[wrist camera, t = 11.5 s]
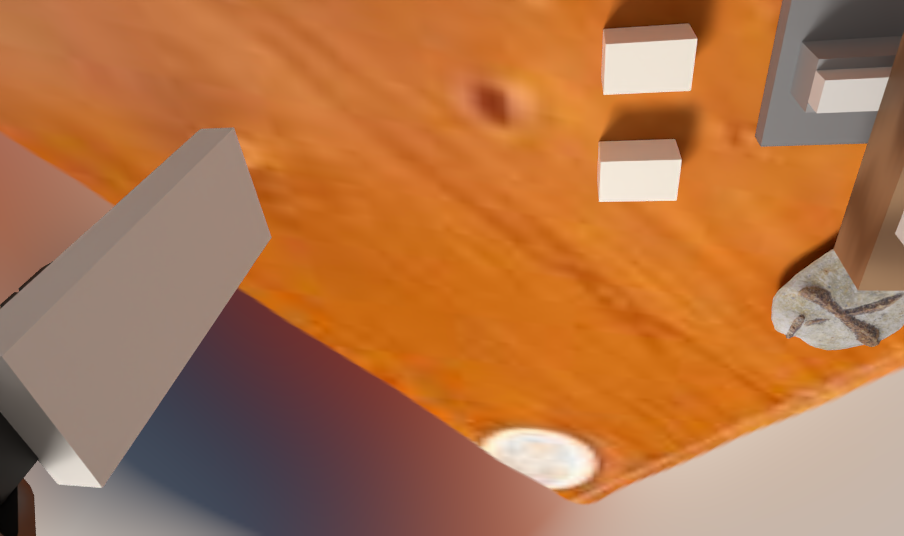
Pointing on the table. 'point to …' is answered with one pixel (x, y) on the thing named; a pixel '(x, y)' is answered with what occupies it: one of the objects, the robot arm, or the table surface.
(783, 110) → the fulcrum
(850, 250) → the bar
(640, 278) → the table surface
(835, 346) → the stone
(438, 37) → the table surface
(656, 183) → the blocks
